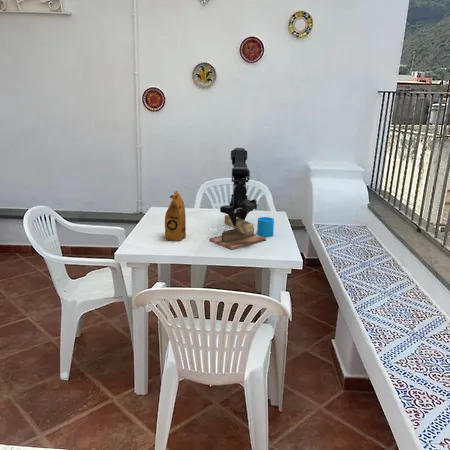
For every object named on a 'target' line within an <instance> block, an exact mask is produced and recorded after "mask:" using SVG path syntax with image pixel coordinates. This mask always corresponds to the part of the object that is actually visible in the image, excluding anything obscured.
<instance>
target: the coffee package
mask: <svg viewBox="0 0 450 450" xmlns="http://www.w3.org/2000/svg"><path fill="white" fill-rule="evenodd" d="M178 191H179V190H175V191H174V193H173V194H172V195H170V196H169V199H172V200H171V201H170V203H169V206H168V208H167V210H166V211H165V216H164V239H165V240H166V241H171V242H172V241H175V242H182V241H183V239H184V238H186V235H187V228H186V227H187V226H186V223H187V222H186V221H187V220H186V219H187V217H186V208H185V203H184V201H183V198H182V196H181V195H180V193H179V192H178Z"/></svg>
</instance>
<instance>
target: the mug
mask: <svg viewBox="0 0 450 450" xmlns="http://www.w3.org/2000/svg"><path fill="white" fill-rule="evenodd" d="M256 225H257V227H256V228H257V229H256V231H257V232H256V235H258V236H261V237H264V238H271V237H274V230H275V229H274V227H275V226H274V225H275V219H274V218H273V217H270V216H259V217H257V224H256Z"/></svg>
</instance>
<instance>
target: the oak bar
mask: <svg viewBox="0 0 450 450" xmlns="http://www.w3.org/2000/svg"><path fill="white" fill-rule="evenodd" d="M224 225H226V226H228V227H230V228H232V229H236V230H238V231H240V232H242V233H244V234H246V235H250V234H253V229H254V230H255V226H254V224H253V223H251V222H249V221H246V219H245V220H242V219H240V218H238V217H236V226H233V223H232V221H231V219H230V217H229V215H228V214H225V215H224Z"/></svg>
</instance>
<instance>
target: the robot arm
mask: <svg viewBox="0 0 450 450" xmlns="http://www.w3.org/2000/svg"><path fill="white" fill-rule="evenodd" d="M230 161H231V164H232V166H233V167H232V168H231V183H233V188H232V189H233V193H232V194H231V198H230V201H229V203H228V204H226V205H221V206H220V208H219V212H220V213H222V214H225V215H229V217H230V219H231V221H232V223H233V226H236V217H238V218H240V219H242V220H245V221H246V218H247V216H248V214H249V213H250V212H253V211H254V210H257V209H258V204H257V200H256V199H249V198H248V195H247V192H248V189H247V183H249V181H250V180H251V179H250V177H251V175H250V174H251V173H250V172H251V171H250V169H249V168H248V164H247V163H246V161H248V151H247V150H246V149H245V147H235V148H233V150H231V151H230Z"/></svg>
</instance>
